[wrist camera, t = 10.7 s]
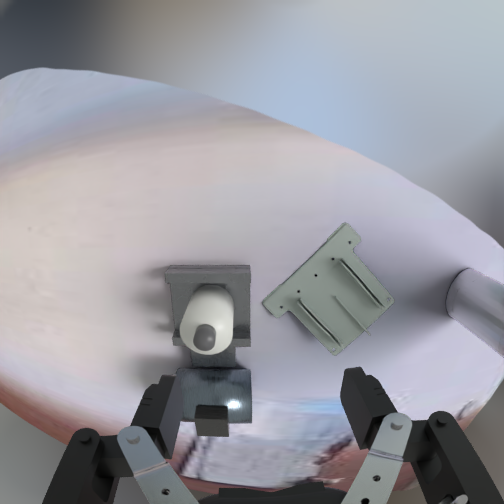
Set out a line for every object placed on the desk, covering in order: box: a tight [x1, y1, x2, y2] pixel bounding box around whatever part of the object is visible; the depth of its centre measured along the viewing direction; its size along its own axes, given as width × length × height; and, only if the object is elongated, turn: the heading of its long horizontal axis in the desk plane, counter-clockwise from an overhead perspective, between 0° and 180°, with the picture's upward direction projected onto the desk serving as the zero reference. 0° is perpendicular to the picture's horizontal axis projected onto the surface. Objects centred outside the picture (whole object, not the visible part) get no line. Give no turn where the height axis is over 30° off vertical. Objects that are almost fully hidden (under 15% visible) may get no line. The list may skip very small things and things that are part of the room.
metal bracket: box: [263, 223, 394, 356], centre depth 36 cm, size 14×6×15 cm
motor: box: [165, 265, 252, 437], centre depth 33 cm, size 11×22×10 cm, turn 0°
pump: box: [180, 285, 234, 355], centre depth 31 cm, size 6×6×9 cm
